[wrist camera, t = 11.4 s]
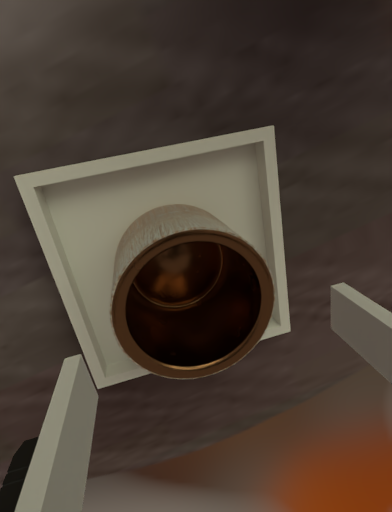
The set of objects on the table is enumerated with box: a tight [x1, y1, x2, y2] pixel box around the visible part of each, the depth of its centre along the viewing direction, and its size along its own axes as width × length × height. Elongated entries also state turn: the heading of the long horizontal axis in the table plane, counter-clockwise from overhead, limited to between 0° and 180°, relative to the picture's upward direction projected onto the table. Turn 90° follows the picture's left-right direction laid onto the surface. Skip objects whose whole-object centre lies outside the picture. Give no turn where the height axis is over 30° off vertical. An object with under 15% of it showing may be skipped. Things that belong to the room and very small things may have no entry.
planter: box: [110, 204, 275, 379], centre depth 23 cm, size 11×11×10 cm
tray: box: [14, 125, 290, 389], centre depth 27 cm, size 20×20×2 cm
